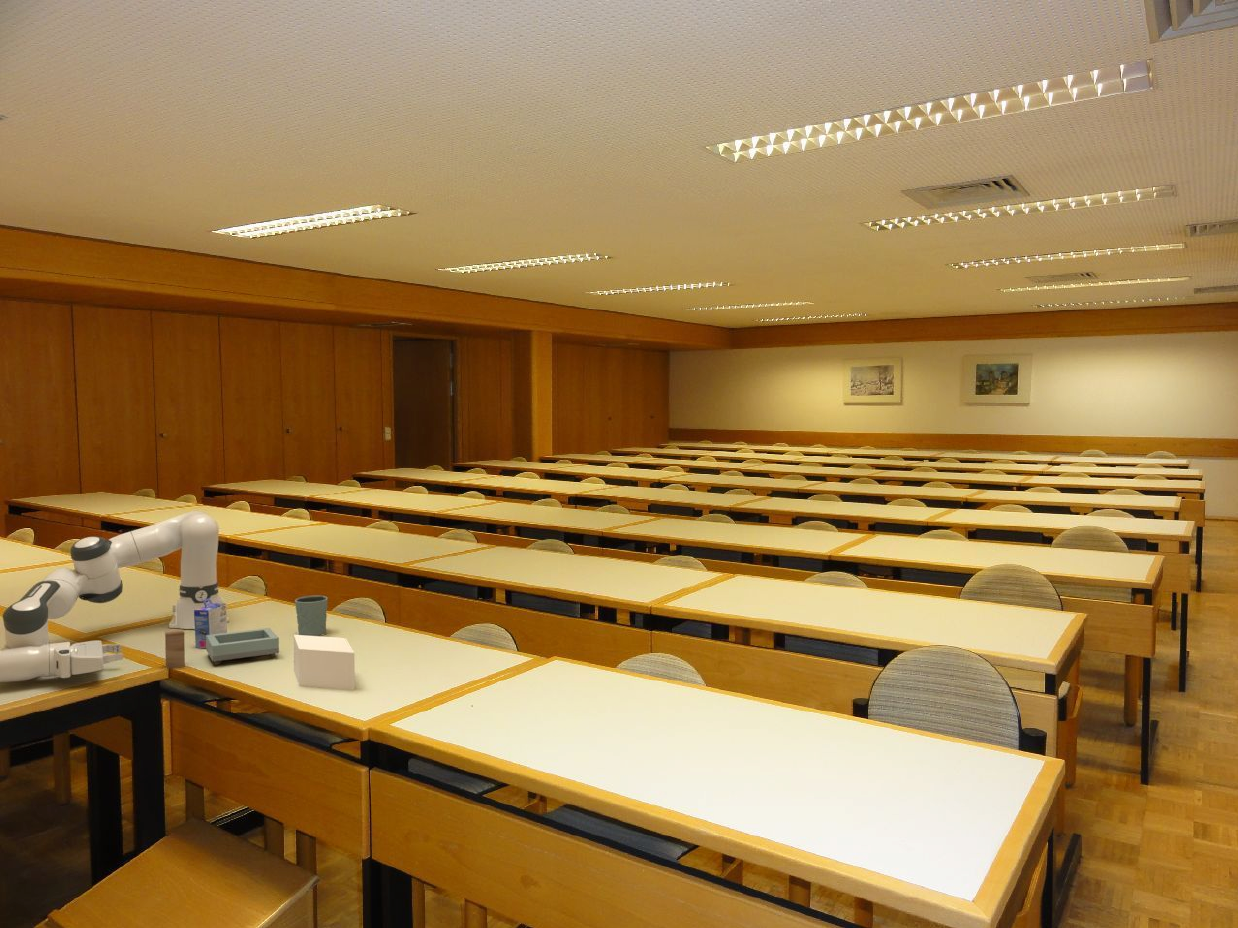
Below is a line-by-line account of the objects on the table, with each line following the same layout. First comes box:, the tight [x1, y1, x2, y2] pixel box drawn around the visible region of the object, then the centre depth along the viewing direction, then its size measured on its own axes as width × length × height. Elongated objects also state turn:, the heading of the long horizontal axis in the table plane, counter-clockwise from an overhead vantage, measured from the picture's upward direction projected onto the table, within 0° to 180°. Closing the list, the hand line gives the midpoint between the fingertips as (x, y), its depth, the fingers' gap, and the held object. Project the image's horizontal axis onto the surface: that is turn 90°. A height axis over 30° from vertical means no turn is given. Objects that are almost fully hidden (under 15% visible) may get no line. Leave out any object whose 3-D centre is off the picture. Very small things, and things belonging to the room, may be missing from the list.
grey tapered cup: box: [294, 595, 328, 636], centre depth 279 cm, size 10×10×12 cm
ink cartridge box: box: [194, 598, 228, 649], centre depth 265 cm, size 10×6×14 cm, turn 174°
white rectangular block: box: [293, 634, 356, 691], centre depth 232 cm, size 14×29×10 cm, turn 53°
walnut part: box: [164, 628, 186, 670], centre depth 242 cm, size 4×4×10 cm
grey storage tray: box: [205, 627, 280, 666], centre depth 252 cm, size 14×18×6 cm
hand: (122, 651), depth 235 cm, fingers open, 8 cm apart
